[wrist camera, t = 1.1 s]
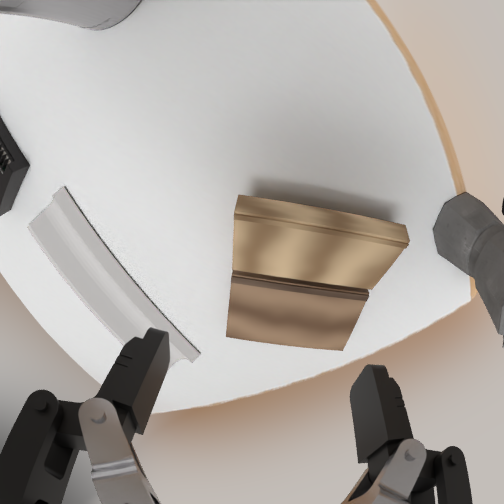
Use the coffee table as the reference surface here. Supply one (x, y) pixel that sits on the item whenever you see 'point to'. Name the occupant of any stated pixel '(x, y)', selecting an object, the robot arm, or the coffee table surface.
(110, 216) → the coffee table surface
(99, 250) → the crown molding
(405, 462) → the robot arm
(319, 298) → the walnut board
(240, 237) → the oak plank
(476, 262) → the coffeepot
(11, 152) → the wireless controller
